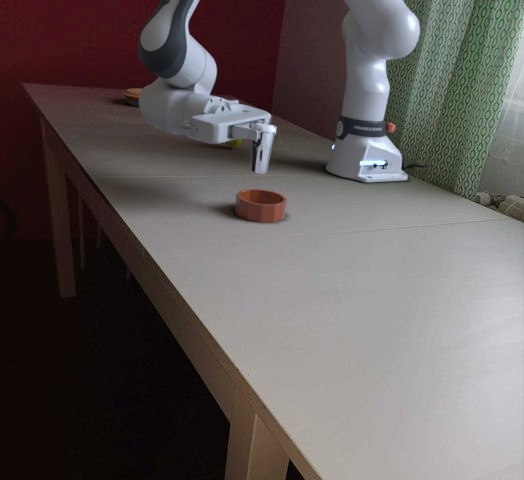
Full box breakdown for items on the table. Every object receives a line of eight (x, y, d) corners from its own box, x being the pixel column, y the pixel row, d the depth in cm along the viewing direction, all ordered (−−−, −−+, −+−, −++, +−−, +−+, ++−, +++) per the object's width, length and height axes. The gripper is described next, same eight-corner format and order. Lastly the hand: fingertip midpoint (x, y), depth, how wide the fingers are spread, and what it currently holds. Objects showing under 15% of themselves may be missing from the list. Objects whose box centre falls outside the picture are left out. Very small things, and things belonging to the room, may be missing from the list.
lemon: (239, 152, 153) (242, 122, 149) (220, 149, 154) (222, 119, 150) (243, 148, 158) (246, 119, 154) (225, 145, 158) (227, 116, 154)
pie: (116, 105, 192) (115, 89, 190) (131, 99, 205) (131, 84, 203) (157, 111, 191) (157, 95, 188) (170, 104, 204) (171, 90, 201)
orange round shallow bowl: (275, 205, 117) (277, 189, 115) (290, 222, 109) (292, 205, 107) (230, 205, 114) (231, 188, 112) (243, 222, 106) (244, 205, 104)
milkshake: (274, 172, 108) (282, 119, 103) (264, 176, 104) (271, 121, 99) (254, 167, 110) (260, 114, 105) (243, 171, 105) (249, 116, 100)
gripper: (175, 106, 98) (238, 121, 93) (237, 98, 114) (294, 110, 108) (175, 142, 102) (235, 158, 96) (234, 129, 117) (290, 143, 112)
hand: (267, 133), depth 102 cm, fingers closed on milkshake, 4 cm apart
